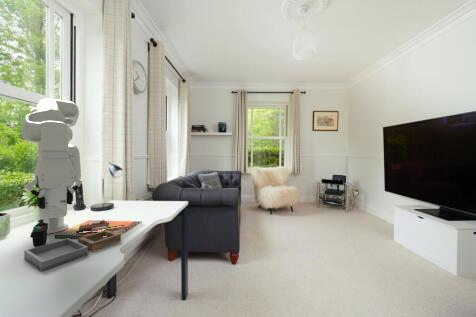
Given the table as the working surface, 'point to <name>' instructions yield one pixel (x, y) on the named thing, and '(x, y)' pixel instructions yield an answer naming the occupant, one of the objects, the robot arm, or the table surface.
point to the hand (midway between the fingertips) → (56, 205)
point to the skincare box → (56, 202)
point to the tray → (55, 253)
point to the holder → (100, 240)
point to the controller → (39, 233)
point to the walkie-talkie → (95, 226)
